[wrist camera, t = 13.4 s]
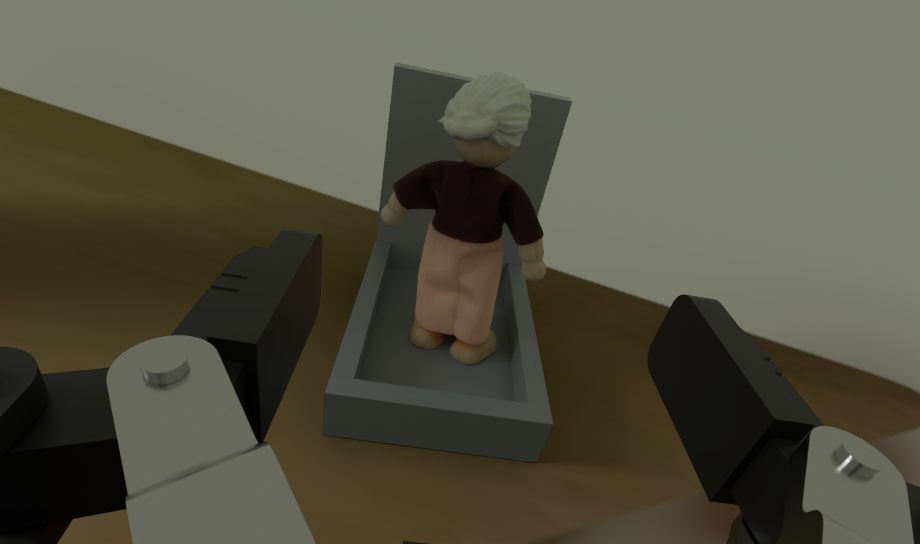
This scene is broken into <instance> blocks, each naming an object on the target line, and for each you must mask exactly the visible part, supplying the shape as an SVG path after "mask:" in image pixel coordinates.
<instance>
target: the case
mask: <svg viewBox="0 0 920 544" xmlns="http://www.w3.org/2000/svg"><path fill="white" fill-rule="evenodd" d="M473 79H474V78H469V77H464V76H459V75H455V74H450V73H445V72H440V71H435V70H429V69H425V68H420V67H415V66H410V65H405V64H400V63H396V65H395V67H394V76H393V85H392V96H391V104H390V115H389V123H388V133H387V143H386V152H385V161H384V170H383V180H382V189H381V199H380V208H379V218H378V227H377V236H376V242H375V245H374V248H373V251H372V254H371V257H370V260H369V263H368V266H367V269H366V272H365V275H364V278H363V280H362V283H361V286H360V289H359V292H358V295H357V298H356V301H355V304H354V307H353V310H352V313H351V316H350V319H349V322H348V325H347V328H346V331H345V334H344V337H343V340H342V343H341V346H340V349H339V352H338V355H337V358H336V361H335V364H334V367H333V370H332V373H331V376H330V378H329V381H328V384H327V387H326V390H325V396H324V416H323V435H328V436H335V437H343V438H351V439H358V440H366V441H374V442H381V443H389V444H397V445H404V446H412V447H420V448H427V449H435V450H443V451H450V452H458V453H466V454H473V455H481V456H489V457H496V458H504V459H512V460H519V461H527V462H535V463H537V461H538V458H539V456H540V454H541V451H542V449H543V447H544V445H545V442H546V440H547V438H548V435H549V433H550V431H551V429H552V426H553V421H552V415H551V410H550V405H549V400H548V395H547V389H546V384H545V379H544V374H543V369H542V363H541V358H540V353H539V348H538V343H537V337H536V332H535V327H534V322H533V317H532V311H531V306H530V301H529V296H528V290H527V285H526V280H525V278H524V276H523V274H522V263H523V261H522V260H521V259H520V256H519V250H518V245H517V244H516V243H515V241H514V239H513V237H512V234H511V232H510V231H509V229H508V227H507V225H506V223H505V222H504V224H503V226H502V227H503V231H502V239H503V248H504V254H503V262H502V268H501V274H500V280H499V285H498V290H497V296H496V300H495V306H494V313H493V318H492V322H491V326H490V330H491V331H492V332H493V333H494V335H495V337H496V340H497V349H496V350H495V351H494V352H493V353H492V354H490V355H489V356H487V357H486V358H484V359H483V360H481V361H480V362H478V363H476V364H472V365H470V364H464V363H462V362H460V361H458V360H456V359H455V358H454V357H452V355H451V353H450V348H451V346H452V344H453V343H454V341H455V340H456V339H457V337H456V336H455V335H449V334H448V335H447V336H446V338H445V339H444V340H443V341H442V343H441V344H440V345H439V346H438V347H437V348H434V349H423V348H420V347H417V346H415V345H413V344H412V343H411V342H410V340H409V333H410V330H411V327H412V324H413V321H414V319H415V307H416V299H417V285H418V273H419V268H420V263H421V258H422V253H423V247H424V243H425V239H426V235H427V231H428V228H429V225H430V223H431V221H432V220H433V218H434V216H435V211H436V210H432V209H411V210H410V211H409V212H408V213H407V214H405V215H404V218H403V220H402V222H401V223H400V224H399V225H397V226H394V227H393V226H388V225H386V224H385V223H384V222H383V221H382V219H381V211H382V209H383V208H384V207H385V206H386V205H387V204H389V199H390V197H391V196H392V194H393V192H394V189H393V185H394V183H395V182H397V181H398V180H400V179H401V178H403V177H404V176H405V175H407V174H408V173H410V172H411V171H413V170H414V169H416V168H418V167H420V166H422V165H424V164H427V163H430V162H434V161H441V160H448V161H457V162H464V160H463V158H462V157H461V156H460V155H459V153H458V151H457V149H456V145H455V142H454V138H453V137H451V136H450V135H449V134H448V133H447V132H446V131H445V129H444V125H443V124H442V123H440V122H438V120H440V119H441V118H443V117H444V116H445V110H446V108H447V105H448V103H449V101H450V100H451V99H453V98H454V97H455V95H456V93H457V92H458V91H459V90H460V89H461V88H462V86H463V85H464V84H465V83H469V82H471V81H472V80H473ZM527 90H528V89H527ZM528 91H529V93H530V99H531V101H532V102H531V105H530V108H531V117H530V119H529V122H528V127H527V130H526V131H525V132H524V133H523V136H522V139H521V144H520V145H519V146H518V147H517V148H516V150H515V152H514V154H513V155H512V156H511V158H510V159H509V160H508V161H507V162H506V163H504V164H502V165H500V166H498V167H495V169H496V170H498V171H500V172H501V173H503V174H505V175H507V176H509V177H510V178H511V179H513V180H514V181H516V182H517V183H518V184H519V185H520V186H521V187H522V188H523V189H524V191H525V192H526V194H527V195H528V197H529V199H530V201H531V203H532V205H533V207H534V209H535V212H536V215H538V212H539V209H540V205H541V202H542V199H543V196H544V192H545V189H546V186H547V182H548V179H549V176H550V173H551V169H552V166H553V163H554V159H555V156H556V152H557V150H558V146H559V143H560V139H561V136H562V133H563V129H564V126H565V123H566V120H567V116H568V113H569V110H570V107H571V103H572V101H571V100H570V99H569V98H568V97H562V96H558V95H553V94H548V93H543V92H538V91H533V90H528Z"/></svg>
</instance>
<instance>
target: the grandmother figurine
mask: <svg viewBox="0 0 920 544" xmlns="http://www.w3.org/2000/svg"><path fill="white" fill-rule="evenodd" d="M531 102H532V101H531V99H530V93H529V91H528V90H527V89H526V88H525V85H524V84H523V83H521V82H520V81H518V80H517V79H515V78H513V77H509V76H507V75H505V74H503V73H500V72H496V73H492V74H490V75H481V76H478V77H476V78H475V79H473V80H472V81H471V82H469V83H465V84H464V85H463V86H462V88H461V89H460V90H459V91H458V92H457V93H456V95H455V97H454V98H453V99H451V100H450V101H449V103H448V105H447V108H446V110H445V116H444V117H443V118H441V119H440V120H438V122H440V123H442V124H443V125H444V129H445V131H446V132H447V133H448V134H449V135H450V136H451V137H453V138H454V142H455V145H456V149H457V151H458V153H459V155H460V156H461V157H462V158H463V160H464V162H457V161H448V160H441V161H434V162H430V163H427V164H424V165H422V166H420V167H418V168H416V169H414V170H413V171H411V172H410V173H408V174H407V175H405V176H404V177H403V178H401V179H400V180H398V181H397V182H395V183H394V185H393V189H394V192H393V194H392V196H391V197H390V199H389V204H387V205H386V206H385V207H384V208H383V209H382V211H381V219H382V221H383V222H384V223H385V224H386V225H388V226H393V227H394V226H397V225H399V224H400V223H401V222H402V220H403V218H404V215H405V214H407V213H408V212H409V211H410V210H411V209H432V210H436V211H435V216H434V218H433V220H432V221H431V223H430V225H429V228H428V231H427V235H426V239H425V243H424V247H423V253H422V258H421V263H420V268H419V273H418V285H417V299H416V307H415V319H414V321H413V324H412V327H411V330H410V333H409V340H410V342H411V343H412V344H413V345H415V346H417V347H420V348H423V349H434V348H437V347H438V346H439V345H440V344H441V343H442V341H443V340H444V339H445V338H446V336H447V335H448V334H449V335H455V336H456V337H457V339H456V340H455V341H454V343H453V344H452V346H451V348H450V353H451V355H452V357H454V358H455V359H456V360H458V361H460V362H462V363H464V364H470V365H472V364H476V363H478V362H480V361H481V360H483V359H484V358H486V357H487V356H489V355H490V354H492V353H493V352H494V351H495V350H496V349H497V340H496V337H495V335H494V333H493V332H492V331H491V330H490V326H491V322H492V318H493V313H494V306H495V300H496V296H497V290H498V285H499V280H500V274H501V268H502V262H503V254H504V248H503V239H502V231H503V227H502V226H503V224H504V222H505V223H506V225H507V227H508V229H509V231H510V232H511V234H512V237H513V239H514V241H515V243H516V244H517V245H518V250H519V256H520V259H521V260H522V261H523V263H522V274H523V276H524V278H525V279H527V280H529V281H539V280H541V279H542V278H543V277H544V276H545V274H546V266H545V264H544V262H543V260H542V257H543V255H544V250H543V244H542V237H543V231H542V228H541V226H540V223H539V221H538V218H537V215H536V212H535V209H534V207H533V205H532V203H531V201H530V199H529V197H528V195H527V194H526V192H525V191H524V189H523V188H522V187H521V186H520V185H519V184H518V183H517V182H516V181H514V180H513V179H511V178H510V177H509V176H507V175H505V174H503V173H501V172H500V171H498V170H496V169H495V167H498V166H500V165H502V164H504V163H506V162H507V161H508V160H509V159H510V158H511V156H512V155H513V154H514V152H515V150H516V148H517V147H518V146H519V145H520V144H521V139H522V136H523V133H524V132H525V131H526V130H527V127H528V122H529V119H530V117H531V108H530V105H531Z"/></svg>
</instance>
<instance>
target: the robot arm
mask: <svg viewBox="0 0 920 544" xmlns="http://www.w3.org/2000/svg"><path fill="white" fill-rule="evenodd" d="M321 266H322V236H321V234H319V233H313V232H307V231H300V230H294V229H288V228H284V229H283V230H282V231H281V232H280V234H279V235H278V236H277V238H276V239H275V241H274V242H273V243H272V245H271V246H270V248H269V249H266V248H259V247H253V248H251V249H249V250H247V251H245V252H244V253H242V254H240V255H238V256H236V257H234V258H233V259H232V260H231V262H230V263H229V264H228V265H227V267H226V268H225V269H224V270H223V271H222V273H221V276H218V278H217V279H216V280H215V281H214V283H213V284H212V285H211V289H208V290H207V291H206V292H205V294H204V295H203V296H202V297H201V299H200V300H199V301H198V302H197V303H196V305H195V306H194V307H193V308H192V310H191V311H190V312H189V313H188V315H187V316H186V317H185V318H184V319H183V321H182V322H181V323H180V324H179V326H178V327H177V328H176V329H175V331H174V332H173V333H172V334H171V335H170V336H164V337H159V338H154V339H151V340H147V341H145V342H142V343H140V344H138V345H136V346H134V347H132V348H130V349H128V350H127V351H125V352H124V353H123V354H121V355H120V356H119V357H118V358H117V359H116V360H115V361H114V362H113V364H112V365H111V367H109V368H102V369H93V370H82V371H71V372H60V373H49V374H41V372H40V370H39V367H38V365H37V362H36V360H35V358H34V357H33V356H31V355H30V354H29V353H27V352H25V351H23V350H20V349H17V348H11V347H0V544H57V543H58V541H59V540H60V538H61V537H62V535H63V534H64V532H65V531H66V529H67V528H68V526H69V524H70V523H71V521H72V520H73V519H75V518H80V517H86V516H91V515H96V514H102V513H107V512H113V511H118V510H124V509H127V513H128V519H129V524H130V530H131V535H132V541H133V544H316V543H315V541H314V539H313V536H312V534H311V532H310V530H309V528H308V525H307V523H306V521H305V519H304V517H303V515H302V512H301V510H300V508H299V506H298V504H297V501H296V499H295V497H294V495H293V493H292V491H291V488H290V486H289V484H288V482H287V480H286V477H285V475H284V473H283V471H282V469H281V467H280V464H279V462H278V460H277V458H276V456H275V454H274V452H273V450H272V448H271V447H270V446H269V444H268V443H267V442H263V441H264V439H265V436H266V434H267V432H268V429H269V427H270V425H271V422H272V420H273V418H274V415H275V413H276V411H277V408H278V406H279V404H280V401H281V399H282V397H283V394H284V392H285V390H286V387H287V385H288V383H289V380H290V378H291V376H292V373H293V371H294V369H295V366H296V364H297V362H298V359H299V357H300V355H301V353H302V350H303V348H304V346H305V343H306V341H307V339H308V336H309V334H310V332H311V329H312V327H313V325H314V322H315V319H316V316H317V313H318V308H319V303H320V294H321ZM648 368H649V372H650V374H651V376H652V379H653V381H654V383H655V385H656V387H657V389H658V391H659V394H660V396H661V398H662V400H663V402H664V404H665V407H666V409H667V411H668V413H669V415H670V417H671V419H672V422H673V424H674V426H675V428H676V430H677V432H678V434H679V437H680V439H681V441H682V443H683V445H684V447H685V450H686V452H687V454H688V456H689V458H690V460H691V462H692V465H693V467H694V469H695V471H696V473H697V475H698V477H699V480H700V482H701V484H702V486H703V488H704V490H705V493H706V495H707V497H708V499H709V501H711V502H719V503H727V504H735V505H738V506H739V508H740V510H741V513H740V514H739V515H738V516H737V517H736V518H735V520H734V521H733V523H732V526H731V530H730V533H729V537H728V541H727V544H920V487H918V486H915V485H912V484H910V483H907V482H905V481H904V479H903V477H902V475H901V474H900V472H899V471H898V469H897V468H896V467H895V466H894V465H893V464H892V463H891V462H890V461H889V460H888V459H887V458H886V457H885V456H884V455H883V454H882V453H881V452H879V451H878V450H877V449H876V448H874V447H873V446H872V445H870V444H869V443H867V442H865V441H864V440H862V439H860V438H859V437H857V436H855V435H853V434H851V433H849V432H846V431H844V430H841V429H838V428H834V427H829V426H824V425H823V424H822V423H821V421H820V420H819V419H818V418H817V416H816V415H815V414H814V413H813V411H812V410H811V409H810V408H809V406H808V405H807V404H806V403H805V401H804V400H803V399H802V398H801V396H800V395H799V394H798V393H797V391H796V390H795V389H794V387H793V386H792V385H791V384H790V382H789V381H788V380H787V379H786V377H782V372H781V371H780V370H779V369H778V367H777V366H776V365H775V364H774V362H770V357H769V356H768V355H767V354H766V352H765V351H764V350H763V349H762V347H761V346H760V345H759V344H758V342H757V341H756V340H755V339H753V338H752V337H751V336H750V335H748V334H747V333H746V332H745V331H743V330H742V329H741V328H740V327H739V326H738V325H737V324H736V322H735V321H734V320H733V318H732V317H731V316H730V315H729V313H728V312H727V311H726V310H725V308H724V307H723V306H722V304H721V303H720V302H719V301H717V300H715V299H708V298H703V297H697V296H690V295H680V296H678V297H677V298H676V299H675V301H674V302H673V304H672V306H671V307H670V309H669V311H668V313H667V315H666V317H665V319H664V321H663V323H662V325H661V327H660V328H659V330H658V332H657V334H656V336H655V338H654V340H653V342H652V344H651V346H650V349H649V353H648ZM403 544H425V543H416V542H407V541H403Z"/></svg>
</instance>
